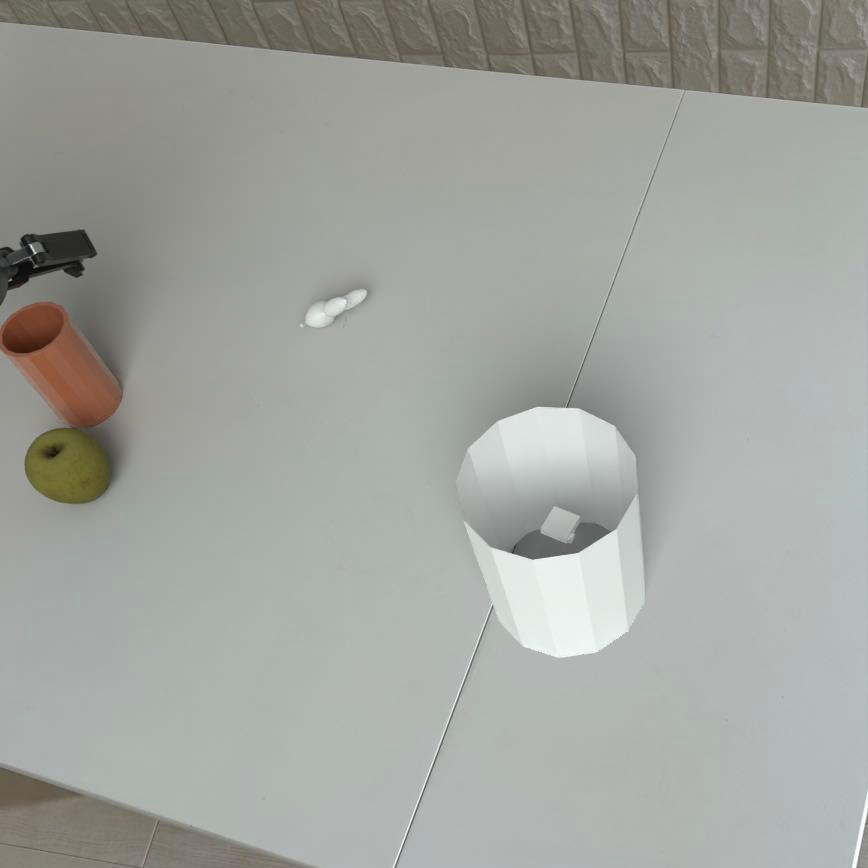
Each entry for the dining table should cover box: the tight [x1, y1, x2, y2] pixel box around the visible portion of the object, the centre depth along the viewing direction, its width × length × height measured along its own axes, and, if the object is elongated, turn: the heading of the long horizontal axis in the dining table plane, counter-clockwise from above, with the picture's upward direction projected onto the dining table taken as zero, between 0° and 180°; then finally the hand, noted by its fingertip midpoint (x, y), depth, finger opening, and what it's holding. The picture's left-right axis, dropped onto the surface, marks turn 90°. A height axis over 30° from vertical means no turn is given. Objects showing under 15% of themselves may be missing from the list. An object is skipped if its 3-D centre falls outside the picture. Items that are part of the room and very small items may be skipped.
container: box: [454, 406, 646, 659], centre depth 90 cm, size 14×14×18 cm
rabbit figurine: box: [299, 288, 368, 329], centre depth 117 cm, size 6×4×8 cm
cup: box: [0, 301, 123, 429], centre depth 112 cm, size 7×7×12 cm
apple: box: [23, 427, 111, 505], centre depth 108 cm, size 8×8×7 cm
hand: (9, 292), depth 105 cm, fingers open, 13 cm apart
